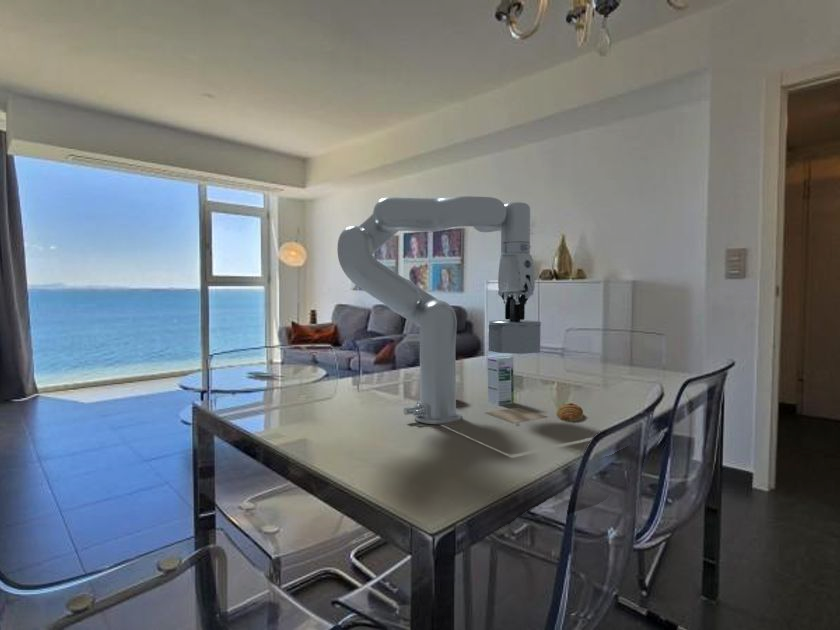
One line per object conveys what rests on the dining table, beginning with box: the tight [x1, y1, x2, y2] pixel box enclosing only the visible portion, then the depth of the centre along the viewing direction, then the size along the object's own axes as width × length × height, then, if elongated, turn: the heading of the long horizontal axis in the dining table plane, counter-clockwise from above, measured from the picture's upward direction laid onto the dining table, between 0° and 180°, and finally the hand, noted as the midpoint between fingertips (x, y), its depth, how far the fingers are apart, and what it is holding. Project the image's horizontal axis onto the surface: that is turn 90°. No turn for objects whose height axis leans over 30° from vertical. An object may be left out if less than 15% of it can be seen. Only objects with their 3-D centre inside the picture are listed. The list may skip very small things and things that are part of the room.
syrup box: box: [486, 355, 515, 406], centre depth 143 cm, size 6×6×14 cm
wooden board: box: [485, 407, 548, 424], centre depth 128 cm, size 12×12×1 cm
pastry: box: [556, 402, 584, 423], centre depth 125 cm, size 9×7×4 cm
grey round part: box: [488, 299, 542, 355], centre depth 127 cm, size 14×14×14 cm
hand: (514, 318), depth 127 cm, fingers closed on grey round part, 2 cm apart
